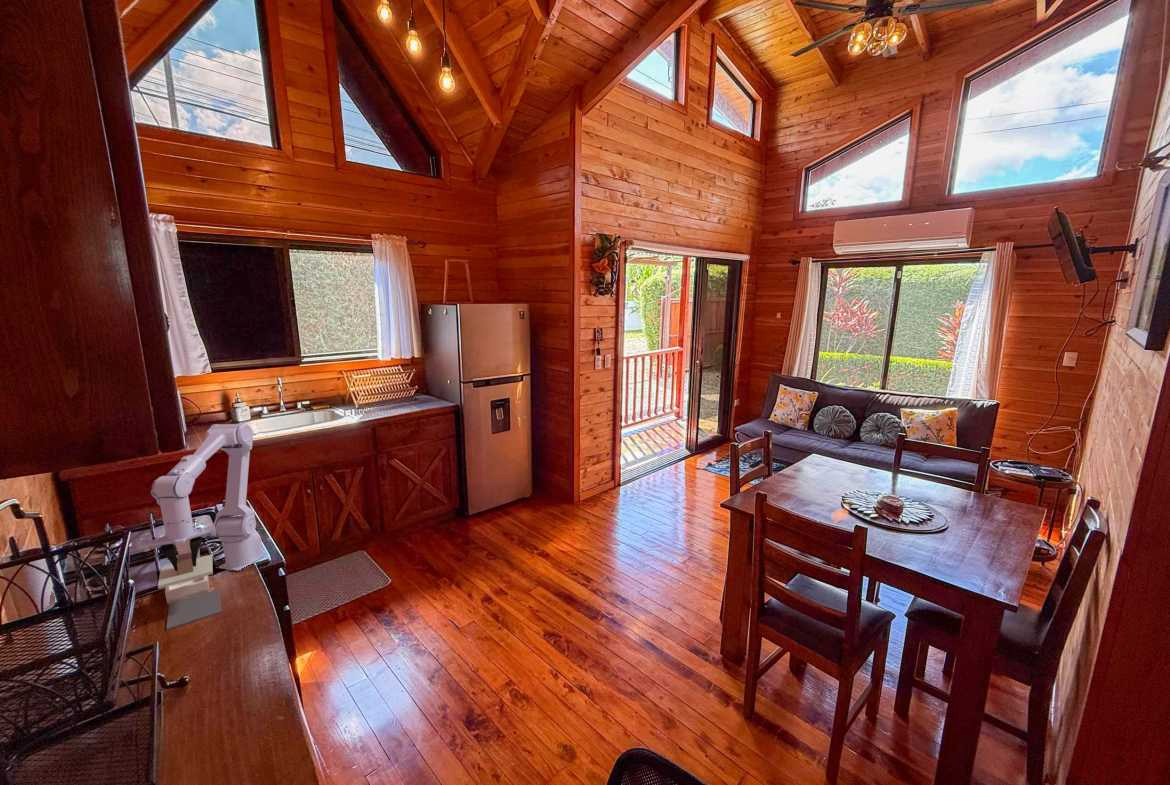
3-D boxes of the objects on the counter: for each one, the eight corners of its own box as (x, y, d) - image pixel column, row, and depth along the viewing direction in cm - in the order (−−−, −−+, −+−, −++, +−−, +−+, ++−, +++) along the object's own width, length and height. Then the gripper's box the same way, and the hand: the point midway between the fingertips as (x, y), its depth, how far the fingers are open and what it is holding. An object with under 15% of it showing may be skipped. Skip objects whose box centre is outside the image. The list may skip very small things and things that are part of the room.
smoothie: (182, 575, 144) (174, 531, 142) (175, 568, 148) (168, 525, 146) (208, 565, 149) (200, 523, 147) (201, 559, 153) (194, 518, 151)
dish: (169, 589, 137) (166, 578, 137) (208, 577, 143) (206, 567, 142) (167, 604, 130) (165, 592, 130) (209, 591, 136) (207, 580, 135)
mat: (169, 605, 130) (169, 603, 130) (220, 590, 137) (219, 588, 136) (166, 630, 120) (166, 628, 120) (221, 612, 126) (221, 611, 126)
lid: (161, 570, 130) (158, 555, 130) (212, 557, 137) (210, 543, 136) (158, 589, 122) (155, 573, 121) (212, 574, 128) (210, 559, 128)
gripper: (138, 533, 119) (148, 583, 122) (212, 517, 128) (220, 564, 130) (142, 523, 125) (151, 571, 127) (212, 508, 133) (219, 553, 136)
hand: (186, 567), depth 129 cm, fingers closed on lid, 3 cm apart
